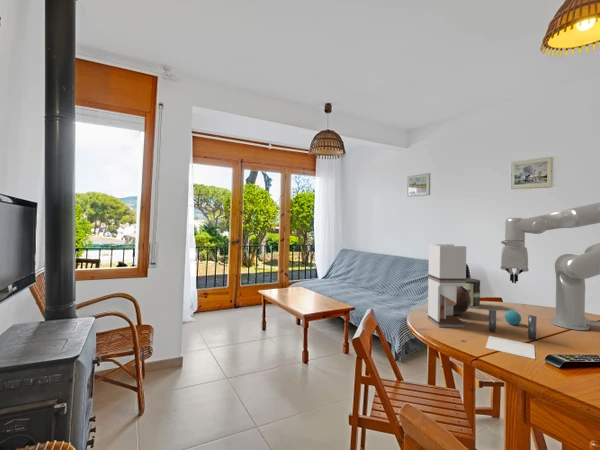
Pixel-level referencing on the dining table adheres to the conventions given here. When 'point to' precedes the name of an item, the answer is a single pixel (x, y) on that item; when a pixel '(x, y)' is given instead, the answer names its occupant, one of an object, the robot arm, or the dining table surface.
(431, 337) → the dining table surface
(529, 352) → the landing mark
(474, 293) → the coffee can
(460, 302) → the wooden sphere
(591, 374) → the dining table surface
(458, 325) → the white tower on base
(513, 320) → the ball
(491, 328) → the left post
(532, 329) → the right post
